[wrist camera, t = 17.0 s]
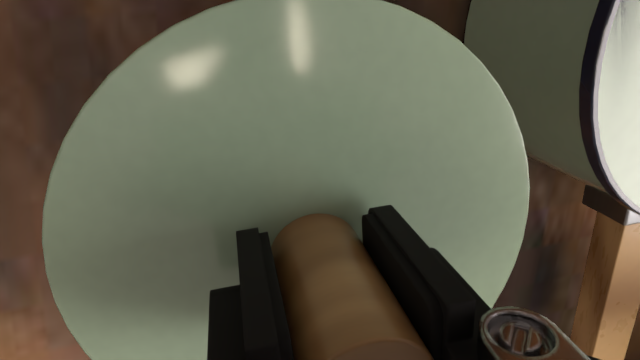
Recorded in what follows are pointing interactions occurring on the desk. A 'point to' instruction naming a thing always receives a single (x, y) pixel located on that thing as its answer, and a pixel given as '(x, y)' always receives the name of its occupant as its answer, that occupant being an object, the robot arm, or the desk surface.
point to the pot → (579, 132)
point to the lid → (280, 177)
